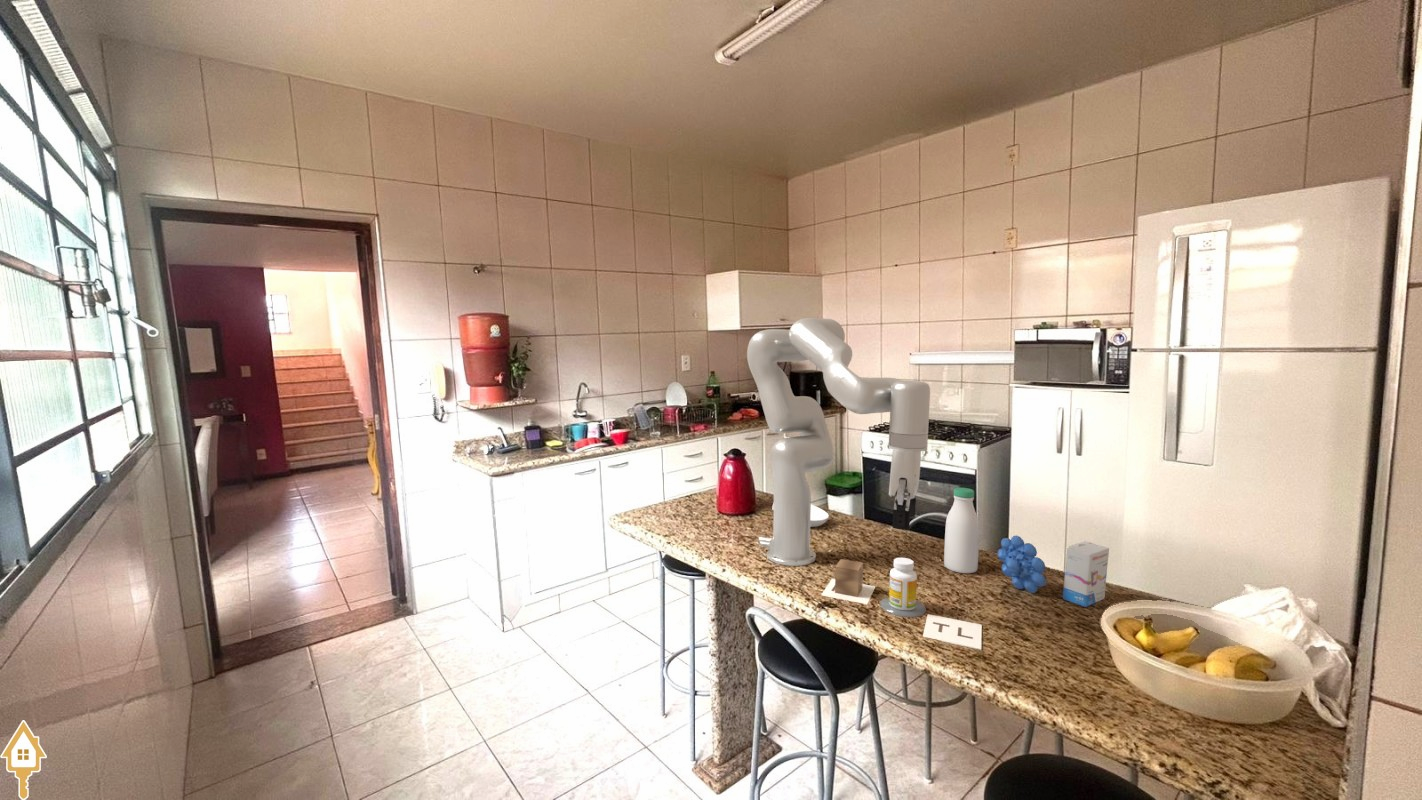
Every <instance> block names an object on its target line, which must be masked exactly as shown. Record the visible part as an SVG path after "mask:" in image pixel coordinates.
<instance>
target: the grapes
mask: <svg viewBox="0 0 1422 800" xmlns="http://www.w3.org/2000/svg"><path fill="white" fill-rule="evenodd" d="M1000 546H1001V548H1000V549H998V550H997V552H996V553H997V557H998V559H999V560H1000V561H1001V562H1002V563H1003V564H1002V566H1001V572H1002V573H1003V574H1004V575H1005V577H1007V578H1011V582H1012V584H1013V586H1014V587H1015V588H1016V589H1018V590H1023V589H1025V590H1026V591H1027V593H1028V592H1029V593H1030V594H1036V592H1037V591H1038V589H1039V588H1038V587H1044V586H1045V585H1046V582H1047V580H1046V576H1045V575H1044V574H1043V572H1044V571H1045V570H1046V564H1045V562H1044V560H1042V559H1041V558H1040V557H1038V556H1037V554H1038V551H1037V548H1036V547H1035V546H1034V545H1033V543H1030V542H1027V543H1026V542H1025V541H1024V539H1022V537H1021V536H1019V535H1013V536H1011V538H1009V537H1004V538H1002V539H1001V541H1000Z"/></svg>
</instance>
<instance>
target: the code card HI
mask: <svg viewBox="0 0 1422 800" xmlns="http://www.w3.org/2000/svg"><path fill="white" fill-rule="evenodd" d="M875 588H876V586H875V585H870V584H869V585H868V584H864V583H862V590H861V592H860V594H859V596H858V597H854V596H849V595H844V594H839V593H835V578H831V579H830V580H829V582H828V584H827V585H826V587H825V589H824V590H823V592H822V593H821V594H820V595H821V596H823V597H829V598H834V599H837V600H844V601H848V602H853V603H859V604H864V605H868V603H869V602H870V599H871V597H872V595H873V592H874V590H875Z"/></svg>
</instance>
